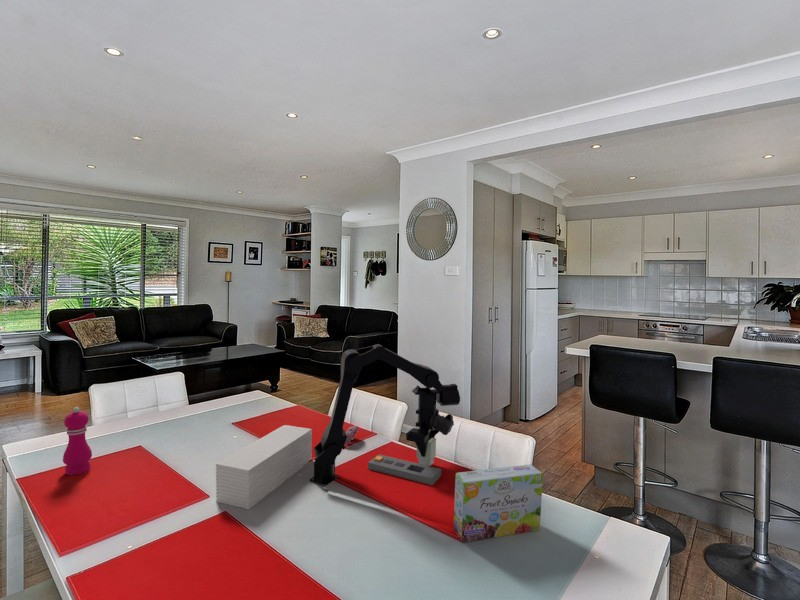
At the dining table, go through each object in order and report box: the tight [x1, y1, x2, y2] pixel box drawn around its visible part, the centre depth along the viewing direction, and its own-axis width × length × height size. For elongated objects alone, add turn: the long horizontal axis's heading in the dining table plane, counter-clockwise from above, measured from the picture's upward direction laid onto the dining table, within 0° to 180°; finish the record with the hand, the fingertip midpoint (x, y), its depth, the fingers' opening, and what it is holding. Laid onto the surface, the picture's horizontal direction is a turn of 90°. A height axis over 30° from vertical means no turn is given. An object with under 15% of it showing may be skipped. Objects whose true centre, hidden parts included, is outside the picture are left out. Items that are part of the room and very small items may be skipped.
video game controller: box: [344, 425, 360, 446], centre depth 158 cm, size 10×5×7 cm, turn 169°
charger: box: [416, 437, 437, 467], centre depth 138 cm, size 4×5×8 cm
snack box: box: [453, 464, 544, 544], centre depth 105 cm, size 21×6×15 cm, turn 106°
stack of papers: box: [215, 424, 313, 510], centre depth 130 cm, size 32×11×11 cm, turn 161°
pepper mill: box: [62, 406, 93, 476], centre depth 132 cm, size 7×7×20 cm
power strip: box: [367, 454, 442, 486], centre depth 133 cm, size 7×22×4 cm, turn 63°
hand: (426, 454), depth 138 cm, fingers closed on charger, 4 cm apart
